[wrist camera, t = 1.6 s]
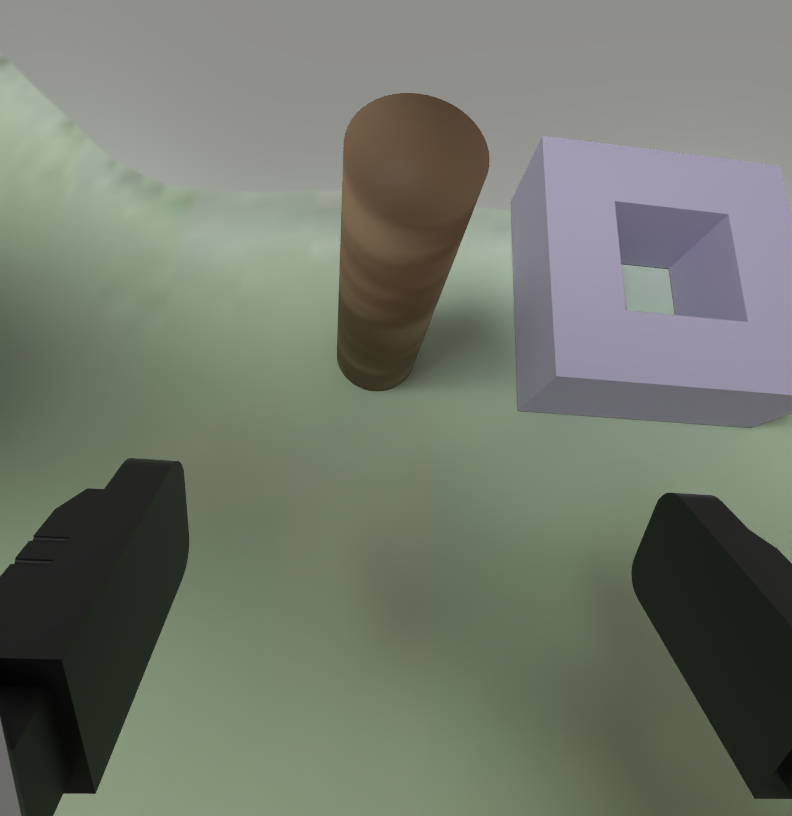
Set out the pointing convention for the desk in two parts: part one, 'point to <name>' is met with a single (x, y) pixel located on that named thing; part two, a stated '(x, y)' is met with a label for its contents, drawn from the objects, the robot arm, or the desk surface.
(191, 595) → the desk surface
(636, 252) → the socket
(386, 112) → the dowel
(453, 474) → the desk surface
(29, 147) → the desk surface
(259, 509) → the desk surface
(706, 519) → the robot arm
